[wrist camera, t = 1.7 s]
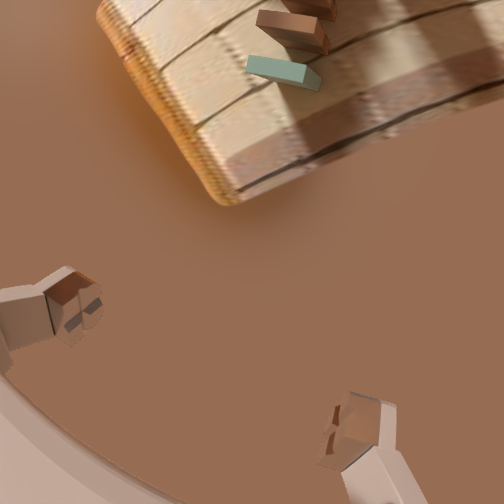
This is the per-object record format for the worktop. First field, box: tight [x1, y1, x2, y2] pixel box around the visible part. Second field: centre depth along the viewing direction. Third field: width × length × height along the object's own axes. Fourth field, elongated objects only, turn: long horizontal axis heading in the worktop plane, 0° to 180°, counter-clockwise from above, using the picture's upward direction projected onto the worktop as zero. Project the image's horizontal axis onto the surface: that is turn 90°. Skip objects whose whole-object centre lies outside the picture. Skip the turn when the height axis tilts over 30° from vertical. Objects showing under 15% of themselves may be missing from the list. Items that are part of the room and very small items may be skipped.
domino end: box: [245, 55, 322, 92], centre depth 27 cm, size 5×2×10 cm, turn 78°
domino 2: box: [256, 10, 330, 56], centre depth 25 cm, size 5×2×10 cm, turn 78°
